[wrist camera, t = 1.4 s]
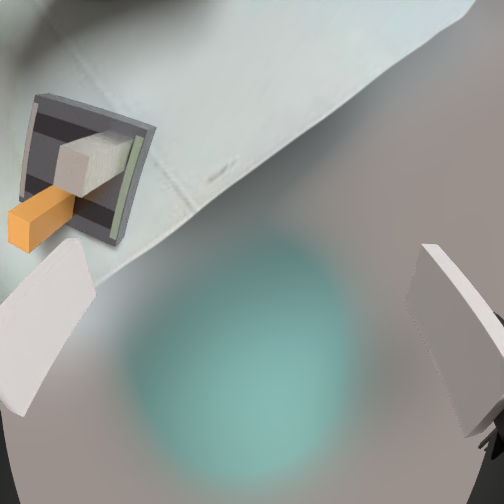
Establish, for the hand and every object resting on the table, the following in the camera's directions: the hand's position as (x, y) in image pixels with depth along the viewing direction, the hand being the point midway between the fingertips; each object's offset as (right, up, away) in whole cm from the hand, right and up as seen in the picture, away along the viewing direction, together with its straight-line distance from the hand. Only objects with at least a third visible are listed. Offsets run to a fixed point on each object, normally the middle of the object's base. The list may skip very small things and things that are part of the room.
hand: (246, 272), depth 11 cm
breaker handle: (-25, +8, +24) cm, 35 cm away
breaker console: (-23, +13, +25) cm, 36 cm away
